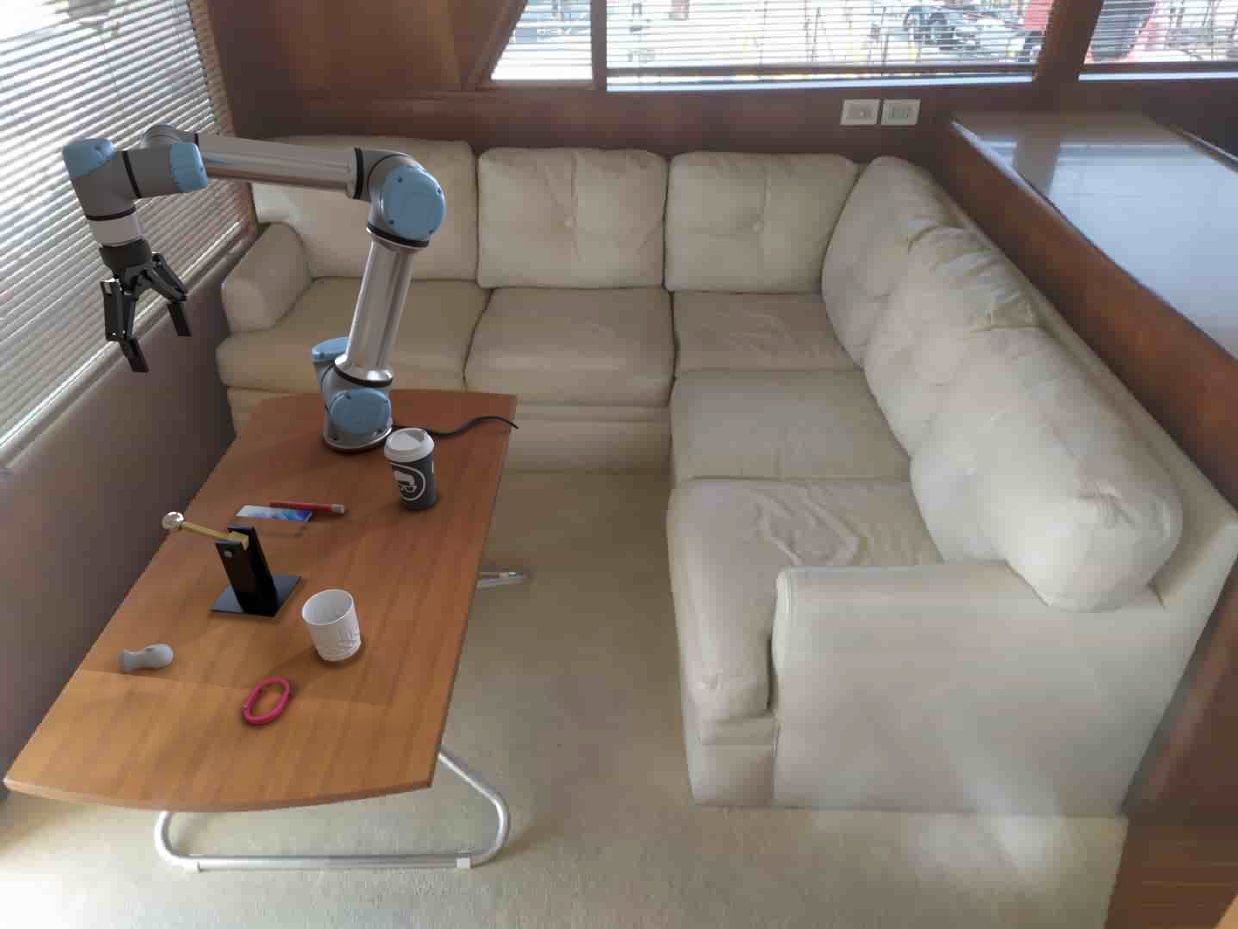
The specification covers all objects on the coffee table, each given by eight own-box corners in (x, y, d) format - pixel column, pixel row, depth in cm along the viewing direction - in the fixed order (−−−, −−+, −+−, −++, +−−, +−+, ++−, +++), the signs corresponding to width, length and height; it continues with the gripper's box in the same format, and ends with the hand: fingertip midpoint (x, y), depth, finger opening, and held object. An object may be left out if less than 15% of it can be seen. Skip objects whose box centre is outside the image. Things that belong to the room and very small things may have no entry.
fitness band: (264, 681, 136) (261, 674, 135) (298, 685, 135) (296, 678, 134) (237, 722, 129) (234, 716, 128) (273, 727, 128) (270, 721, 127)
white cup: (314, 640, 143) (299, 597, 137) (362, 627, 145) (350, 584, 139) (318, 674, 136) (303, 630, 131) (368, 660, 139) (355, 616, 133)
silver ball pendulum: (158, 533, 143) (156, 518, 141) (170, 520, 146) (169, 504, 144) (239, 559, 143) (239, 544, 141) (250, 545, 146) (250, 530, 144)
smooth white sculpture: (181, 658, 142) (169, 675, 137) (131, 662, 141) (117, 679, 136) (176, 635, 140) (164, 651, 135) (125, 639, 140) (111, 655, 135)
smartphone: (243, 504, 172) (313, 509, 170) (245, 507, 173) (314, 513, 170) (224, 526, 166) (296, 532, 164) (225, 529, 167) (297, 536, 165)
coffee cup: (448, 507, 171) (436, 446, 162) (400, 520, 168) (386, 457, 159) (438, 481, 178) (426, 421, 169) (392, 492, 175) (378, 431, 167)
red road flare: (341, 515, 169) (339, 508, 168) (270, 510, 171) (268, 503, 170) (345, 509, 171) (343, 503, 170) (274, 505, 173) (272, 498, 172)
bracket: (212, 615, 148) (184, 550, 139) (241, 576, 156) (217, 512, 147) (276, 622, 146) (252, 557, 138) (303, 582, 154) (282, 518, 146)
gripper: (145, 212, 152) (184, 321, 164) (48, 267, 132) (100, 386, 144) (184, 213, 151) (220, 322, 163) (91, 269, 131) (140, 389, 143)
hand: (164, 353), depth 154 cm, fingers open, 13 cm apart
